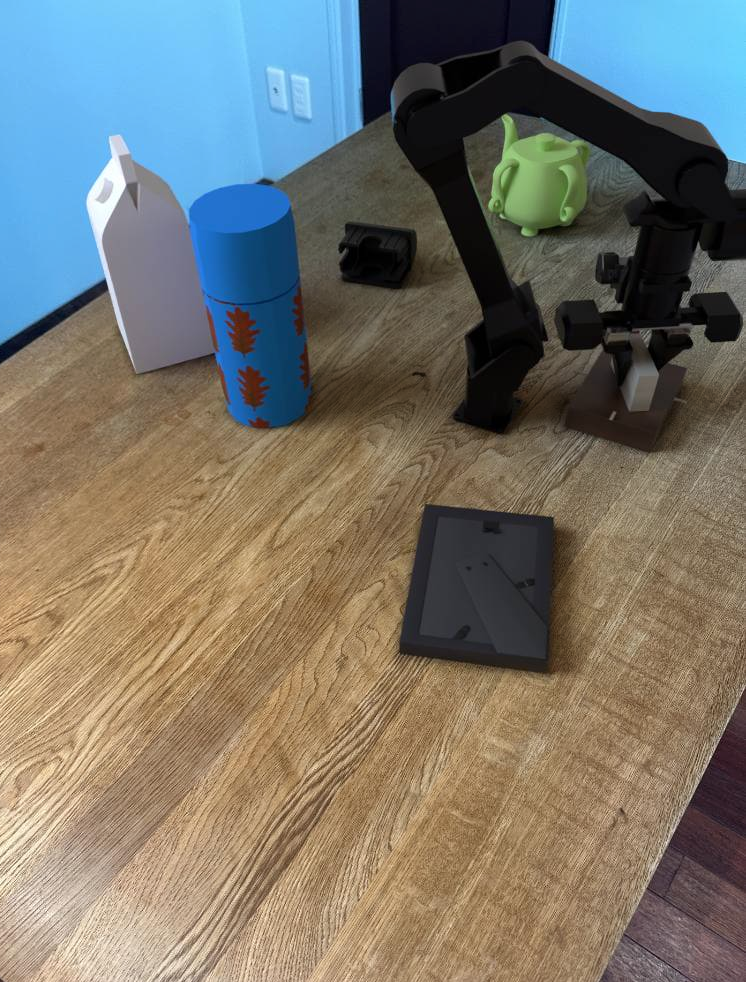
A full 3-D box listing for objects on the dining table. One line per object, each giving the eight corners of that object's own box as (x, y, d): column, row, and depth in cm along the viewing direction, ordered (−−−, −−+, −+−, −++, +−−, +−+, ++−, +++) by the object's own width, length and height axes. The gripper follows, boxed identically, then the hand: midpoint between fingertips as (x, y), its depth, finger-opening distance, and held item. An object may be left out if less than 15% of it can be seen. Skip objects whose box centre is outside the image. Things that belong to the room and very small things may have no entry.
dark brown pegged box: (663, 457, 91) (670, 436, 88) (550, 423, 96) (554, 402, 93) (694, 391, 98) (701, 369, 96) (588, 362, 103) (592, 341, 101)
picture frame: (545, 673, 73) (551, 529, 85) (548, 660, 72) (554, 514, 83) (399, 653, 76) (424, 515, 87) (399, 640, 74) (424, 501, 85)
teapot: (466, 230, 126) (471, 148, 117) (496, 190, 134) (503, 109, 125) (568, 249, 121) (582, 164, 112) (593, 205, 129) (608, 122, 120)
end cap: (417, 265, 120) (417, 221, 115) (402, 290, 116) (403, 246, 111) (353, 256, 123) (351, 213, 118) (337, 280, 119) (334, 237, 114)
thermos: (300, 433, 97) (276, 236, 78) (215, 425, 99) (172, 231, 80) (320, 377, 104) (302, 184, 85) (240, 371, 106) (205, 180, 87)
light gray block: (648, 410, 92) (659, 373, 88) (629, 411, 92) (639, 374, 88) (628, 362, 97) (638, 325, 94) (610, 363, 98) (619, 326, 94)
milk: (220, 351, 109) (181, 154, 89) (136, 374, 106) (77, 177, 87) (197, 306, 116) (156, 115, 97) (118, 327, 114) (60, 135, 95)
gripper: (728, 215, 88) (690, 338, 99) (554, 226, 88) (536, 347, 100) (766, 270, 80) (720, 395, 92) (576, 281, 81) (554, 405, 92)
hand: (630, 383), depth 94 cm, fingers closed on light gray block, 2 cm apart
